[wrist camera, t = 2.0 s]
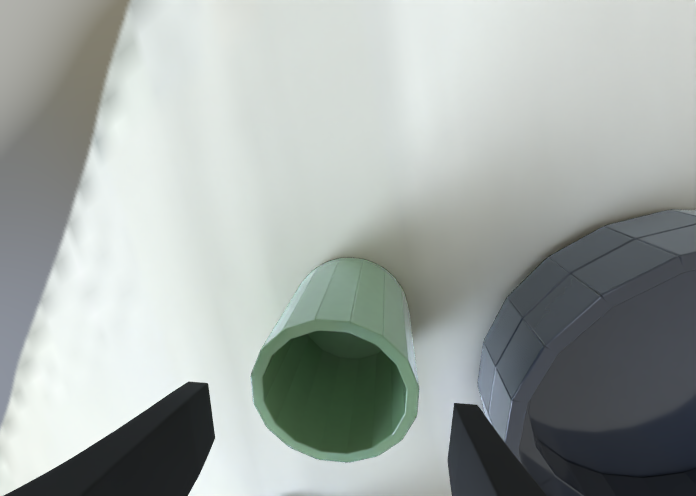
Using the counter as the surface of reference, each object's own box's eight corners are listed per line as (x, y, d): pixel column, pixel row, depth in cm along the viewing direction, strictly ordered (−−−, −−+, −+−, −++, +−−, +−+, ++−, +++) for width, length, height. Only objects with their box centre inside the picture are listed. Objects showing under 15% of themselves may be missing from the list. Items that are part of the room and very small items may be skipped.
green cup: (404, 362, 18) (413, 469, 12) (297, 355, 18) (256, 454, 12) (411, 259, 16) (424, 325, 10) (294, 254, 17) (244, 315, 11)
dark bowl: (764, 503, 18) (885, 620, 13) (461, 473, 19) (482, 569, 15) (902, 212, 13) (1143, 246, 9) (496, 202, 15) (541, 227, 11)
